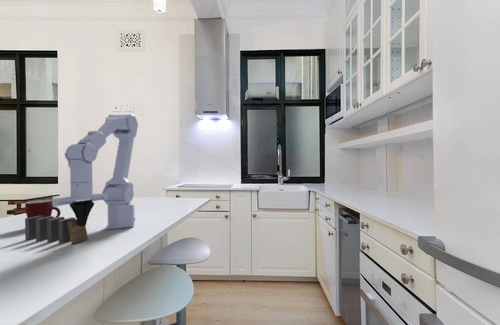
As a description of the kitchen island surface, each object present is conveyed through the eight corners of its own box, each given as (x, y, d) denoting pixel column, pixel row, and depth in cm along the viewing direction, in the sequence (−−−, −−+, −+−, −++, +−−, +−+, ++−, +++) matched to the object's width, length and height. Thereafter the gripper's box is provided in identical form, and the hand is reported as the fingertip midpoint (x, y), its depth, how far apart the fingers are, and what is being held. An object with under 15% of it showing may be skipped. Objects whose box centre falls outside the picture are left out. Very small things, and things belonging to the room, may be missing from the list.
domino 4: (75, 238, 81) (75, 217, 81) (62, 243, 77) (62, 220, 77) (71, 238, 81) (71, 217, 81) (58, 242, 77) (58, 220, 77)
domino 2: (53, 237, 83) (53, 216, 83) (40, 241, 79) (39, 219, 79) (50, 236, 83) (49, 216, 83) (36, 241, 79) (35, 219, 79)
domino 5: (88, 238, 80) (83, 217, 80) (75, 243, 76) (70, 220, 76) (84, 239, 80) (79, 218, 81) (71, 244, 76) (66, 221, 76)
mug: (61, 222, 103) (61, 198, 102) (59, 227, 96) (59, 201, 96) (28, 226, 97) (27, 201, 97) (23, 231, 90) (22, 204, 90)
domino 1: (43, 236, 84) (43, 215, 84) (29, 240, 80) (28, 218, 80) (39, 236, 84) (39, 215, 84) (25, 240, 80) (25, 218, 80)
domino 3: (64, 238, 82) (64, 216, 82) (51, 242, 78) (51, 220, 78) (60, 237, 82) (60, 216, 82) (47, 242, 78) (47, 219, 78)
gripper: (100, 180, 86) (100, 219, 86) (48, 183, 74) (49, 228, 74) (110, 181, 82) (110, 222, 82) (57, 184, 70) (57, 232, 70)
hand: (82, 225), depth 78 cm, fingers closed
